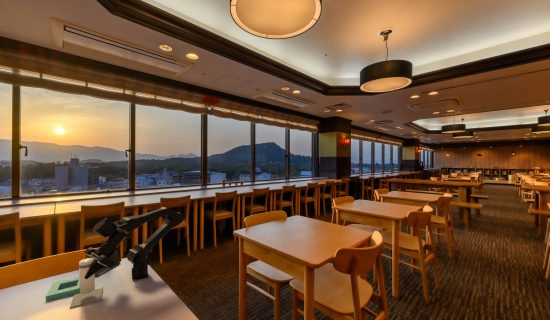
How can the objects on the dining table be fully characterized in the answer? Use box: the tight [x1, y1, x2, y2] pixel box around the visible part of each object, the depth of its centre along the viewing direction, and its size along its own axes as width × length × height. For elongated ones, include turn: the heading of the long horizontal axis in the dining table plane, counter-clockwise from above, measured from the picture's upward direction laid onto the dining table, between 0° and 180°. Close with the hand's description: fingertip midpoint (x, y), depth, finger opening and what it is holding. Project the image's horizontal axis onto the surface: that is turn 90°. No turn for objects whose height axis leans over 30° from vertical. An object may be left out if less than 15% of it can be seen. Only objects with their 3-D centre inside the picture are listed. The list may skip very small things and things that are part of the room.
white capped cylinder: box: [78, 258, 96, 294], centre depth 99 cm, size 5×5×13 cm
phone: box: [95, 262, 121, 278], centre depth 124 cm, size 8×1×15 cm
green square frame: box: [45, 276, 80, 302], centre depth 105 cm, size 12×12×2 cm
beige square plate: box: [69, 287, 104, 309], centre depth 99 cm, size 10×10×1 cm
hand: (83, 276), depth 98 cm, fingers closed on white capped cylinder, 5 cm apart
